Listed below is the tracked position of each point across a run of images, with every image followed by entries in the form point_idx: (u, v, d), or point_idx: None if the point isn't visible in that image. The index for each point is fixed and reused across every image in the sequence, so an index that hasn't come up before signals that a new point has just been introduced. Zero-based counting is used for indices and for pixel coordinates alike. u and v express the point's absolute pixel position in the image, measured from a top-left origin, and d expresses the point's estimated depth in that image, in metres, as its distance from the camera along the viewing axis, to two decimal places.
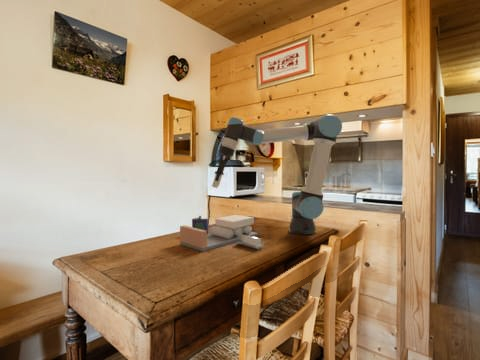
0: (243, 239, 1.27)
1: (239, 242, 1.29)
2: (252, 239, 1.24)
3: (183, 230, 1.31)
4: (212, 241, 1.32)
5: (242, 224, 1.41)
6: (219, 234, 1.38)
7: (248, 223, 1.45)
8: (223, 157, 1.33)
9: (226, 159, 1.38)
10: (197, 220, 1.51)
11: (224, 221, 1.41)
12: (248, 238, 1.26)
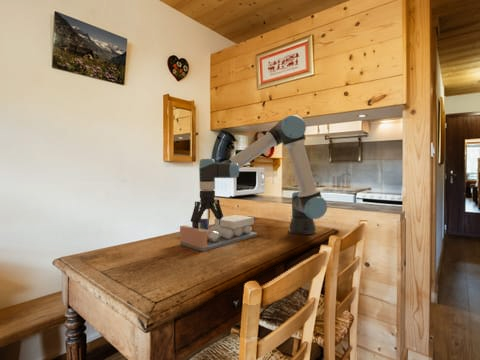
0: None
1: None
2: (210, 233, 1.31)
3: (183, 230, 1.31)
4: None
5: (242, 224, 1.41)
6: None
7: (248, 223, 1.45)
8: (195, 203, 1.29)
9: (205, 203, 1.31)
10: None
11: (224, 221, 1.41)
12: None
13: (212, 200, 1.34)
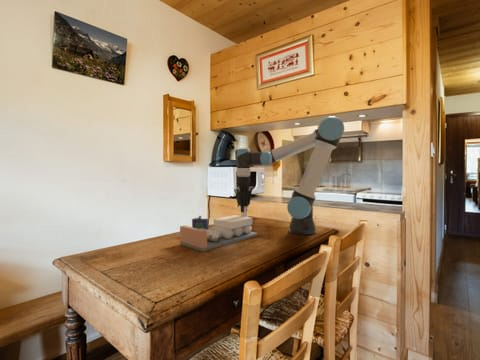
0: None
1: None
2: (211, 232, 1.31)
3: (183, 230, 1.31)
4: (212, 241, 1.32)
5: (240, 225, 1.41)
6: None
7: (246, 223, 1.44)
8: (235, 191, 1.48)
9: (242, 188, 1.50)
10: (197, 220, 1.51)
11: (222, 221, 1.40)
12: (207, 232, 1.33)
13: (248, 184, 1.53)
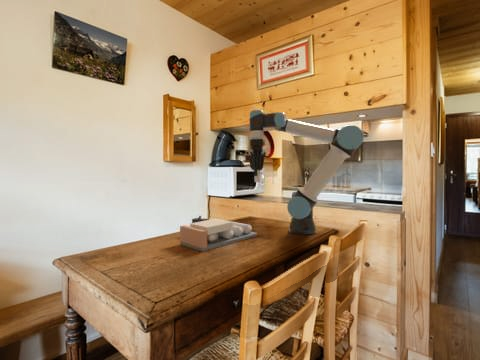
0: None
1: None
2: None
3: (183, 230, 1.31)
4: None
5: (218, 230, 1.30)
6: (219, 234, 1.38)
7: (225, 228, 1.33)
8: (249, 154, 1.45)
9: (256, 151, 1.46)
10: (197, 220, 1.51)
11: (199, 226, 1.30)
12: None
13: (261, 148, 1.50)
